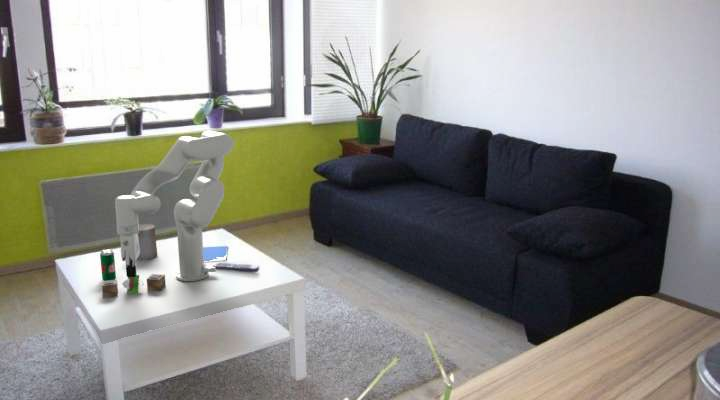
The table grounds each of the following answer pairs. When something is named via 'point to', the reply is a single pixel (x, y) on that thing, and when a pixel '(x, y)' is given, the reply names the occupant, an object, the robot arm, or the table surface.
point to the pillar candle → (147, 242)
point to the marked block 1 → (109, 288)
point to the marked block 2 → (156, 283)
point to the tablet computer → (214, 252)
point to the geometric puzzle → (132, 284)
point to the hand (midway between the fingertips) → (131, 276)
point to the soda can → (107, 265)
